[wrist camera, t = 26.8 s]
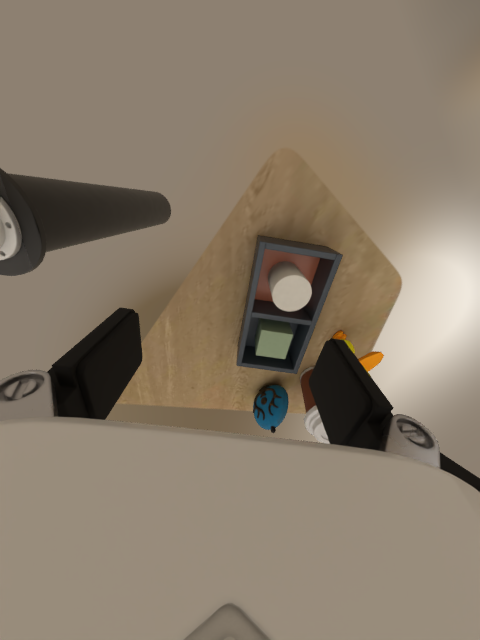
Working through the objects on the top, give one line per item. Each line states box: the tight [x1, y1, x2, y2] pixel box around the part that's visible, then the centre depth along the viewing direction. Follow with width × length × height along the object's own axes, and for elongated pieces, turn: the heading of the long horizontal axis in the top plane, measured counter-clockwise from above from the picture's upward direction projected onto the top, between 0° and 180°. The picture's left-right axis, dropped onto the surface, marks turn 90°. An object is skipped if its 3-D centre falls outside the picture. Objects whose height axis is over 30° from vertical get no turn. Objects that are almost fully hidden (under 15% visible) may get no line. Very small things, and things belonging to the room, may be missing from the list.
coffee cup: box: [300, 366, 330, 444], centre depth 38 cm, size 9×9×12 cm
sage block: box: [255, 318, 293, 359], centre depth 35 cm, size 5×5×5 cm
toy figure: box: [333, 331, 384, 375], centre depth 33 cm, size 7×4×12 cm, turn 139°
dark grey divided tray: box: [237, 235, 343, 374], centre depth 33 cm, size 11×20×6 cm, turn 171°
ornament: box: [253, 385, 288, 433], centre depth 41 cm, size 8×5×10 cm, turn 132°
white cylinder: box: [268, 261, 312, 311], centre depth 29 cm, size 5×5×7 cm
